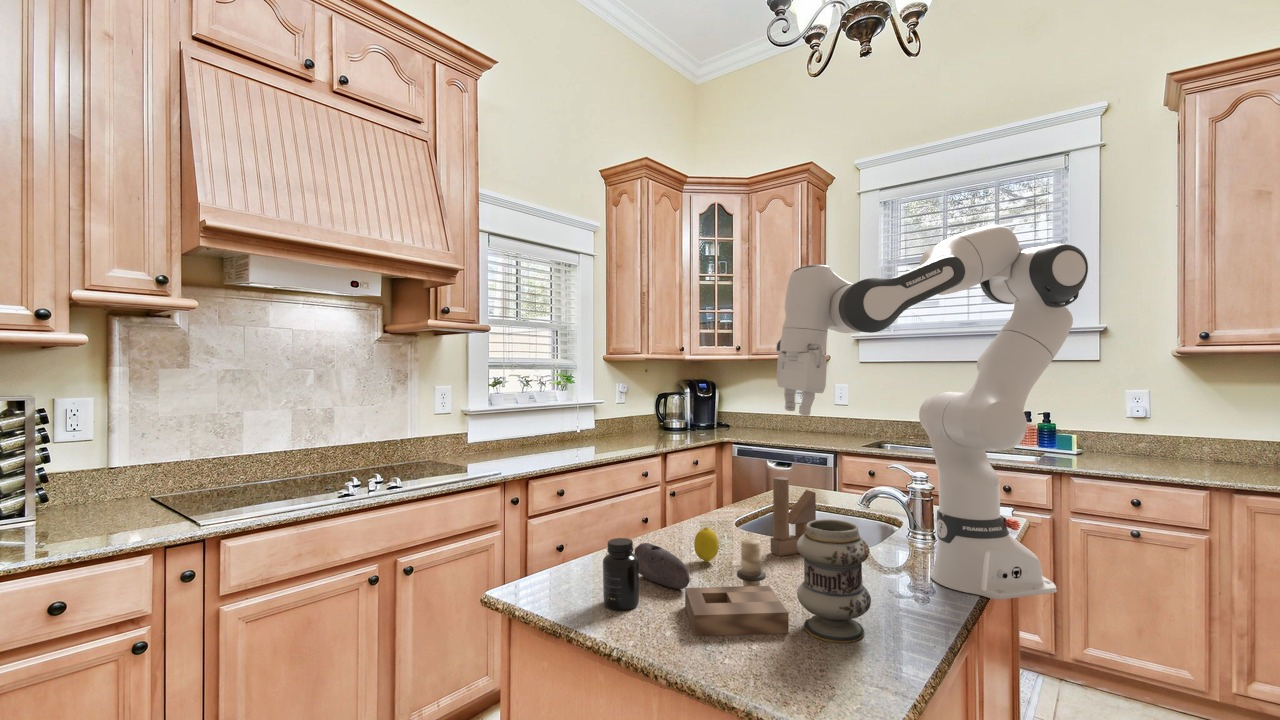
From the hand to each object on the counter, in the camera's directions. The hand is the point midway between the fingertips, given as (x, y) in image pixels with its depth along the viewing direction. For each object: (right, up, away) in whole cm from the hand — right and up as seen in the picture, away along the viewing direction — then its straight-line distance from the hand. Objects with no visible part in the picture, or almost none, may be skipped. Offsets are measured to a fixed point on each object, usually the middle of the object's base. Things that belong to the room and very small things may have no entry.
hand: (796, 412), depth 121 cm
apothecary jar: (+1, -36, -18) cm, 40 cm away
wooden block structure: (+5, -36, +23) cm, 43 cm away
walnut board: (-15, -36, -14) cm, 41 cm away
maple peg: (-10, -36, -2) cm, 37 cm away
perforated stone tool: (-27, -36, +3) cm, 45 cm away
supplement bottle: (-35, -36, -7) cm, 51 cm away
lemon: (-16, -36, +16) cm, 42 cm away
